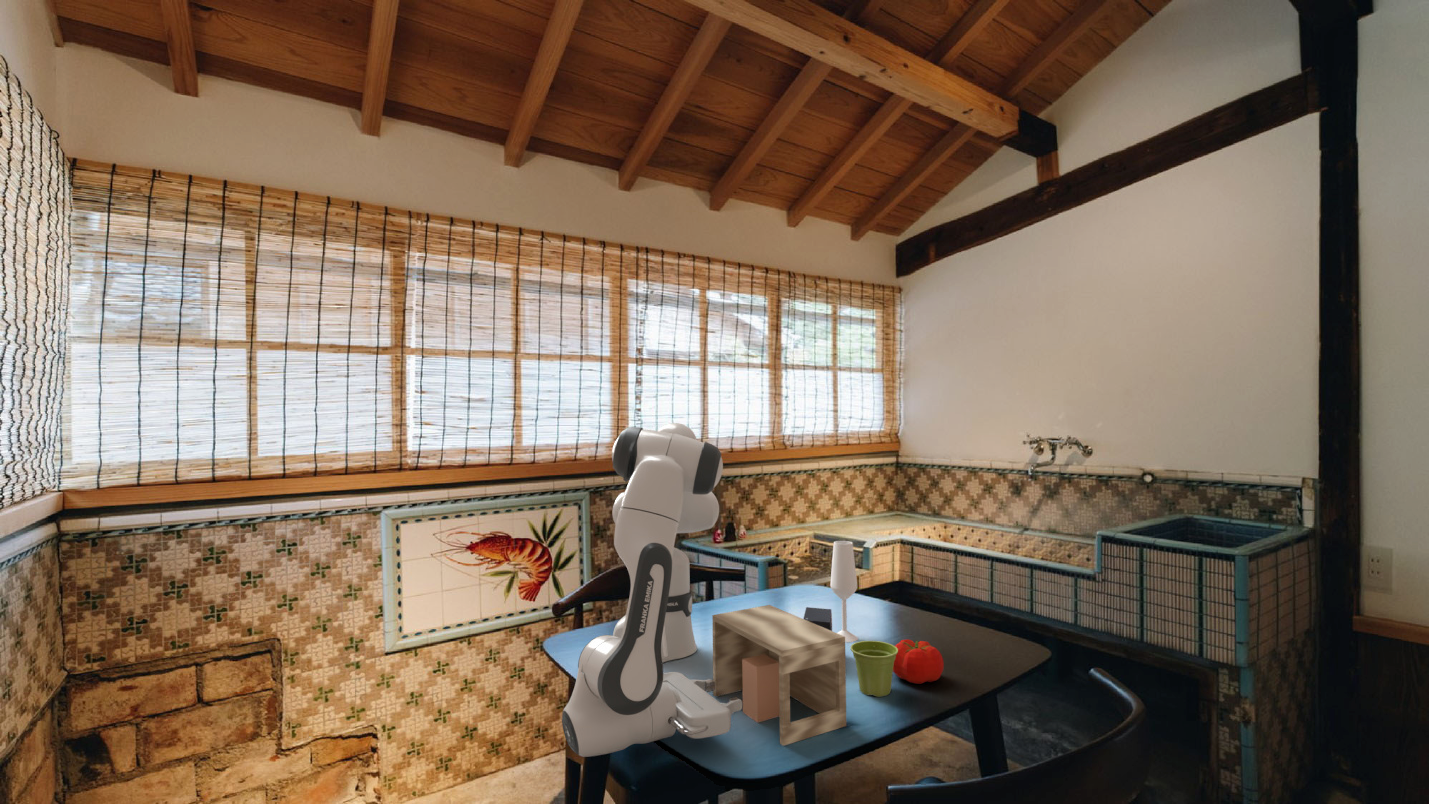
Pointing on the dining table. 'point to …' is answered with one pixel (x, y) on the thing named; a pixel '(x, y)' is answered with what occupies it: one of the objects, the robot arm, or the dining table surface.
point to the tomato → (917, 662)
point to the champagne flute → (844, 580)
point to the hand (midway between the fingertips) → (726, 693)
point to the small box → (819, 617)
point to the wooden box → (785, 665)
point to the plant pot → (874, 666)
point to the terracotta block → (760, 687)
